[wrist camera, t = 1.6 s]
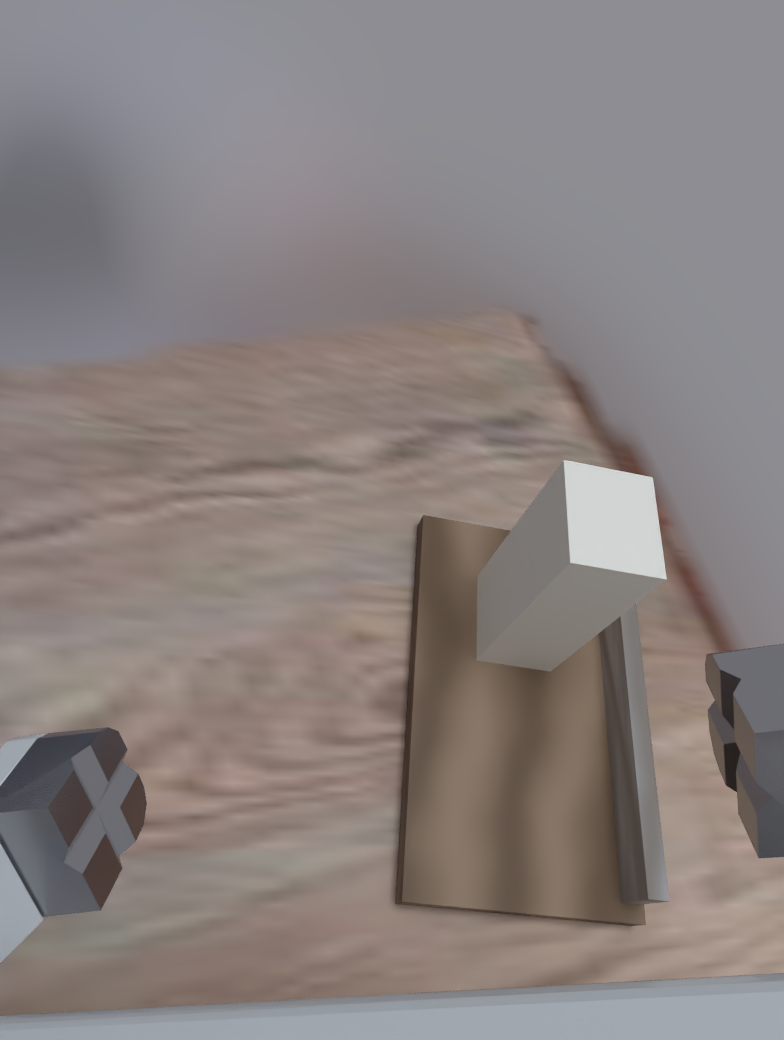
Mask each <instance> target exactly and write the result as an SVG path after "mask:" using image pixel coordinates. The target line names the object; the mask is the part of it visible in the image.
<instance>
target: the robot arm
mask: <svg viewBox="0 0 784 1040" xmlns="http://www.w3.org/2000/svg"><path fill="white" fill-rule="evenodd" d="M705 670H706V682H707V684H708V686H709V688H710V691H711V693H712V695H713V697H714V699H715V701H714V702H713V704H712V705H711V706H710V708H709V709H708V718H709V729H710V736H711V741H712V746H713V751H714V755H715V758H716V761H717V764H718V767H719V770H720V772H721V775H722V777H723V779H724V782H725V784H726V786H728V787H730V788H731V789H733V790H734V791H736V792H737V798H738V814H739V816H740V818H741V820H742V823H743V825H744V827H745V829H746V831H747V834H748V836H749V838H750V840H751V842H752V845H753V847H754V849H755V851H756V853H757V856H758V858H773V857H784V644H779V645H771V646H763V647H756V648H748V649H741V650H733V651H725V652H718V653H710V654H707V655H706V662H705ZM126 752H127V747H126V745H125V743H124V741H123V739H122V738H121V736H120V734H119V732H118V731H116V730H114V729H111V728H109V727H106V728H96V729H86V730H76V731H66V732H56V733H48V734H38V735H30V736H22V737H17V738H14V739H12V740H9V741H7V742H6V743H5V744H4V745H3V747H2V748H1V749H0V963H1V962H2V961H3V960H4V959H5V958H6V957H7V956H8V955H9V954H10V953H11V952H12V951H13V950H14V949H15V948H16V947H17V946H18V945H19V944H20V943H21V942H22V941H23V940H24V939H25V938H26V937H27V936H28V935H29V934H30V933H31V932H32V931H33V930H34V929H35V928H36V927H37V926H38V925H39V924H40V923H41V922H42V921H43V917H45V916H54V915H63V914H72V913H81V912H90V911H99V910H101V909H102V907H103V905H104V903H105V901H106V899H107V897H108V895H109V894H110V892H111V890H112V888H113V886H114V884H115V882H116V880H117V878H118V876H119V874H120V872H121V870H122V865H121V862H120V858H119V855H120V854H122V853H123V852H124V851H125V850H126V849H127V848H129V847H130V846H131V845H132V844H133V843H135V842H136V840H137V838H138V836H139V833H140V831H141V829H142V827H143V825H144V819H145V812H146V805H147V802H146V796H145V790H144V786H143V783H142V781H141V779H140V776H139V774H138V773H137V772H135V771H134V770H133V769H131V768H130V767H129V766H127V765H126V764H124V763H123V761H124V758H125V755H126ZM0 1040H784V973H773V974H756V975H738V976H720V977H703V978H685V979H667V980H649V981H630V982H611V983H592V984H574V985H555V986H536V987H517V988H499V989H480V990H461V991H442V992H424V993H405V994H387V995H369V996H351V997H333V998H315V999H297V1000H279V1001H261V1002H243V1003H225V1004H207V1005H189V1006H171V1007H152V1008H134V1009H116V1010H98V1011H80V1012H62V1013H43V1014H25V1015H7V1016H0Z"/></svg>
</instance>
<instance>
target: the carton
mask: <svg viewBox="0 0 784 1040" xmlns="http://www.w3.org/2000/svg"><path fill="white" fill-rule="evenodd" d="M665 580H667V578H666V571H665V564H664V557H663V549H662V542H661V535H660V527H659V520H658V513H657V506H656V498H655V491H654V484H653V477H647V476H642V475H637V474H632V473H627V472H622V471H617V470H612V469H607V468H602V467H597V466H592V465H587V464H582V463H577V462H572V461H566V460H563V462H562V463H561V464H560V466H559V467H558V468H557V470H556V471H555V472H554V474H553V475H552V476H551V478H550V479H549V480H548V482H547V483H546V484H545V486H544V487H543V489H542V490H541V491H540V493H539V494H538V495H537V497H536V498H535V499H534V501H533V502H532V503H531V505H530V506H529V507H528V509H527V510H526V511H525V513H524V514H523V515H522V517H521V518H520V519H519V521H518V522H517V523H516V525H515V526H514V527H513V529H512V530H511V531H510V533H509V534H508V535H507V537H506V538H505V539H504V541H503V542H502V544H501V545H500V546H499V548H498V549H497V550H496V552H495V553H494V554H493V556H492V557H491V558H490V560H489V561H488V562H487V564H486V565H485V566H484V568H483V569H482V570H481V572H480V573H479V574H478V576H477V655H476V660H477V661H483V662H490V663H497V664H503V665H510V666H517V667H523V668H530V669H537V670H543V671H550V672H551V671H552V670H553V669H554V668H556V667H557V666H558V665H559V664H561V663H562V662H563V661H565V660H566V659H567V658H568V657H570V656H571V655H572V654H573V653H575V652H576V651H577V650H578V649H580V648H581V647H582V646H583V645H585V644H586V643H587V642H588V641H590V640H591V639H592V638H593V637H595V636H596V635H597V634H599V633H600V632H601V631H602V630H604V629H605V628H606V627H607V626H609V625H610V624H611V623H612V622H614V621H615V620H616V619H617V618H619V617H620V616H621V615H622V614H624V613H625V612H626V611H628V610H629V609H630V608H631V607H633V606H634V605H635V604H636V603H638V602H639V601H640V600H641V599H643V598H644V597H645V596H646V595H648V594H649V593H650V592H651V591H653V590H654V589H655V588H656V587H658V586H659V585H660V584H662V583H663V582H664V581H665Z"/></svg>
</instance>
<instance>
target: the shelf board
mask: <svg viewBox="0 0 784 1040" xmlns="http://www.w3.org/2000/svg"><path fill="white" fill-rule="evenodd" d="M509 533H510V531H509V530H503V529H497V528H492V527H486V526H481V525H475V524H470V523H464V522H458V521H453V520H447V519H442V518H436V517H431V516H425V515H423V517H422V519H421V521H420V523H419V524H418V532H417V549H416V566H415V583H414V600H413V617H412V634H411V651H410V668H409V685H408V702H407V719H406V736H405V753H404V770H403V786H402V803H401V820H400V837H399V854H398V871H397V888H396V903H397V904H408V905H418V906H429V907H440V908H450V909H461V910H471V911H482V912H493V913H503V914H514V915H524V916H535V917H546V918H556V919H567V920H577V921H588V922H599V923H609V924H620V925H630V926H636V925H646V921H645V911H644V904H649V903H659V902H668V901H669V895H668V886H667V877H666V868H665V859H664V850H663V841H662V832H661V823H660V814H659V805H658V796H657V787H656V778H655V769H654V760H653V751H652V742H651V733H650V724H649V715H648V706H647V697H646V688H645V679H644V670H643V661H642V652H641V643H640V635H639V626H638V617H637V608H636V604H635V605H634V606H633V607H631V608H630V609H629V610H628V611H626V612H625V613H624V614H622V615H621V616H620V617H619V618H617V619H616V620H615V621H614V622H612V623H611V624H610V625H609V626H607V627H606V628H605V629H604V630H602V631H601V632H600V633H599V634H597V635H596V636H595V637H593V638H592V639H591V640H590V641H588V642H587V643H586V644H585V645H583V646H582V647H581V648H580V649H578V650H577V651H576V652H575V653H573V654H572V655H571V656H570V657H568V658H567V659H566V660H565V661H563V662H562V663H561V664H559V665H558V666H557V667H556V668H554V669H553V670H552V671H551V672H550V671H543V670H537V669H530V668H523V667H517V666H510V665H503V664H497V663H490V662H483V661H477V660H476V655H477V576H478V574H479V573H480V572H481V570H482V569H483V568H484V566H485V565H486V564H487V562H488V561H489V560H490V558H491V557H492V556H493V554H494V553H495V552H496V550H497V549H498V548H499V546H500V545H501V544H502V542H503V541H504V539H505V538H506V537H507V535H508V534H509Z"/></svg>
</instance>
